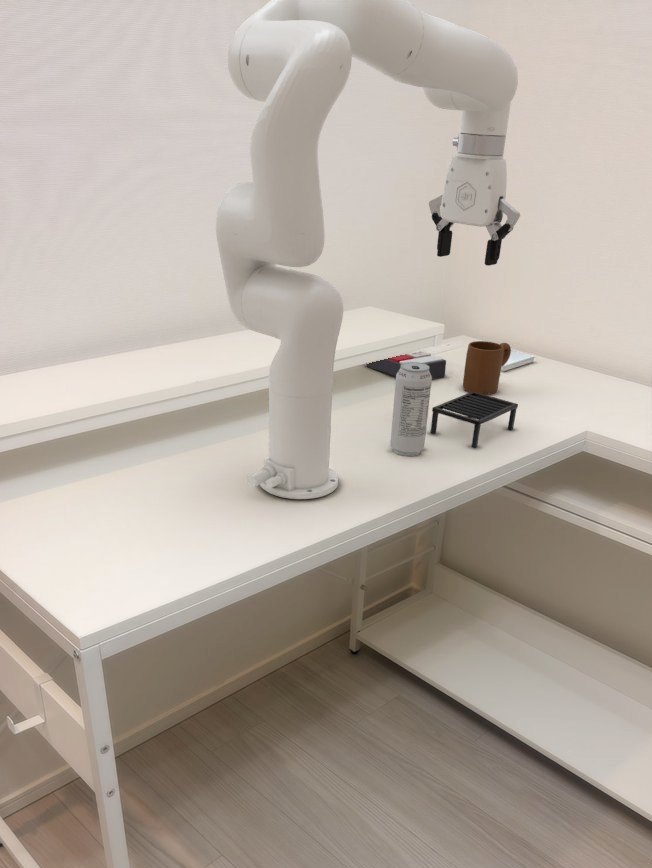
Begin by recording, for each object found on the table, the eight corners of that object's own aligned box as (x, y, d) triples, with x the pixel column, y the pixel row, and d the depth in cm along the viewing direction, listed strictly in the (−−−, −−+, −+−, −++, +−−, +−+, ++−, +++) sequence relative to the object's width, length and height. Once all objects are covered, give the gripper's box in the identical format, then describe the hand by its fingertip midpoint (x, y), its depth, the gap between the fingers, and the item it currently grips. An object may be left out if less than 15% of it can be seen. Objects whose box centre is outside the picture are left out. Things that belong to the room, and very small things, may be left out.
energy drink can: (419, 444, 145) (428, 361, 137) (426, 457, 140) (436, 371, 132) (387, 444, 144) (394, 360, 136) (392, 457, 139) (400, 371, 131)
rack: (475, 448, 144) (479, 421, 142) (429, 433, 149) (432, 407, 147) (513, 429, 154) (518, 403, 151) (469, 415, 159) (473, 391, 156)
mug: (491, 378, 180) (497, 336, 175) (517, 388, 175) (525, 344, 170) (454, 387, 173) (460, 343, 168) (481, 397, 168) (488, 352, 163)
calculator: (402, 343, 187) (447, 356, 177) (401, 362, 190) (445, 376, 179) (366, 349, 182) (410, 363, 171) (365, 368, 184) (408, 383, 174)
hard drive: (506, 348, 196) (476, 356, 189) (534, 355, 192) (505, 364, 184) (505, 355, 197) (475, 363, 190) (533, 362, 193) (504, 372, 185)
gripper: (424, 143, 132) (413, 254, 141) (516, 152, 123) (498, 270, 133) (449, 143, 137) (437, 250, 146) (539, 151, 128) (521, 265, 138)
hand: (466, 260), depth 139 cm, fingers open, 9 cm apart
